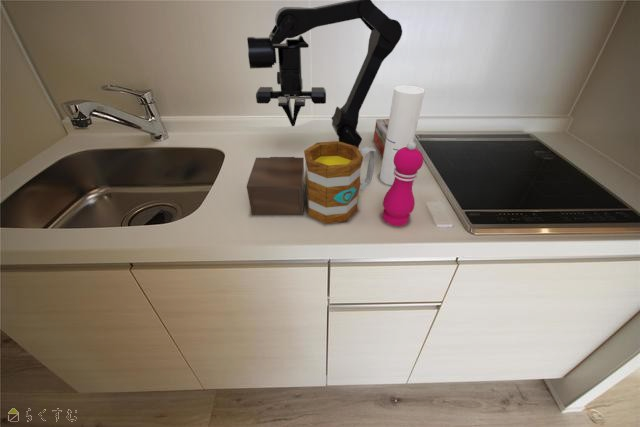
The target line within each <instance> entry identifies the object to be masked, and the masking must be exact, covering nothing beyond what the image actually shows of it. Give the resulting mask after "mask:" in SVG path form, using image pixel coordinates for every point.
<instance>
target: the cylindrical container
mask: <svg viewBox="0 0 640 427" xmlns="http://www.w3.org/2000/svg"><path fill="white" fill-rule="evenodd" d="M425 91H426V90H425V89H424V88H423V87H420V86H417V85H410V84H403V85H396V86H394V88H393V94H392V100H391V104H390V113H389V118H388V119H389V124H388V130H387V136H386V142H385V149H384V155H383V156H382V162H381V168H380V173H379V179H380V181H381V182H382V183H384V184H386V185H390V186H392V185H393V183H394V179H395V176H394V175H393V172H394V168H395V165H394V162H393V161H394V156H395V154H396V152H397V151H398V150H399V149H401V148H404V147H407V144H408V143H409V142H411V141H412V142H415V136H416V132H417V128H418V122H419V119H420V113H421V110H422V105H423V100H424V98H425Z"/></svg>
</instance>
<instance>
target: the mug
mask: <svg viewBox="0 0 640 427" xmlns="http://www.w3.org/2000/svg"><path fill="white" fill-rule="evenodd" d="M303 153H304V161H305V171H304V184H305V194H306V197H305V207H306V213H307V216H308V217H310V218H312V219H315V220H317V221H318V222H321V223H323V224H326V225H327V224H329V225H330V224H336V223H346V222H348V221H349V220H350V219H351V218H352V217H353V216H354V215H355V214H356V213H357V212H358V198H359V197H358V196H359V192H360V191H364V190H366V189H367V188H368V187H369V186H370V185H371V183H372V180H373V177H374V170H375V165H376V161H377V150H376V149H375V148H374V147H370V146H368V145H366V146H364V147H363V148H362V149H358V147H356V146H353V145H349V144H346V143H343V142H339V140H337V141H336V140H335V141H320V142H315V143H314V144H312V145H311V146H309V147H308V148H306V149H304V150H303ZM368 154H369V159H368V164H367V168H366V169H367V170H366V175H365V176H366V177H365V179H364V180H363V182H362V183H361V171H362V165H363V160H364V159H365V157H366V156H367V155H368Z"/></svg>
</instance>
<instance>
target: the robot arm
mask: <svg viewBox="0 0 640 427" xmlns="http://www.w3.org/2000/svg"><path fill="white" fill-rule="evenodd" d="M358 19H360V21H362V22H363V24H364V25H365V26H366V28H367V29H369V30H370V33H369V34H370V35H369V38H368V44H367V45H368V46H367V52H366V56H365V58H364V60H363V63H362V65H361V67H360V69H359V72H358V74H357V76H356V79H355V80H354V83H353V86H352V88H351V90H350V92H349V95H348V96H347V99H346V101H345V103H344V104H343V106H342V107H339V106H336V108H335V110H334V114H333V116H331V120H332V122H331V126H332V128H333V130H334V132H335V134H336V136H337V137H338V141H339V142H343V143H346V144H349V145H353V146H356V147H358V149H359V148H360V145H361V143H362V142H363V138H362V136H361V135H360V133H359V132H358V130H357V127H358V124H359V116H360V110H361V109H362V106H363V104H364V103H365V101H366V98H367V95H368V94H369V91H370V89H371V87H372V85H373V83H374V80H375V79H376V77H377V75H378V72H379V70H380V68H381V66H382V64H383V62H384V61H385V60H386V59H387V57H388V56H390V54H391V53H392V52H393V51H394V49H395V48H396V47H397V45H398V44H399V42H400V40H401V38H402V35H403V29H402V25H401V22H399V20H397V19H393V18H390V17H389V16H388V15H387V14H385V13H384V12H383V11H382V10H381V9H380V8H379V7H377V6H376V4H375V3H374V2H373V1H372V0H346V1H340V2H335V3H331V4H330V3H329V4H324V5H319V6H314V7H302V6H301V7H300V6H283V7H281V8H279V9H278V11H277V12H276V14H275V17H274V23H275V24H274V26H273V28H272V29H271V31H270V32H269V35H268V37H255V36H247V38H246V39H247V49H248V53H247V57H248V64H249V69H251V70H252V69H273V66H275V64H277V56H278V69H279V71H277V72H276V84H277V85H280V90H274V88H273V86H260V87H259V88H258V89H257V91H256V93H255V101H256V103H257V104H269V103H270V102H271V101H272V99H273V100H275V99H276V100H277V101H278V102H277V105H278V106H277V107H279V108H282V109H283V112H284V113H285V115H286V117H287V119H288V121H289V123H290V125H291V126H292V127H295V126H296V122H297V119H298V115H299V114H300V113H299V112H300V111H301V108H303V107H305V106H306V100H311V102H312V103H313V104H314V105H317V104H319V105H320V104H321V105H322V104H323V105H324V104H326V103H327V90H326V88H325V87H323V86H321V87H320V86H319V87H318V86H317V87H315V86H313V87H312V86H311V91H309V90H308V91H307V90H303V87H304V86H303V76H302V49H304V48H305V49H307V48H309V45H310V44H308V43H307V41H305V39H304V37H303V36H302V35H303V34H306V33H307V32H309V31H311V30H314V29H315V28H317V27H323V26H329V25H333V24H338V23H343V22H348V21H353V20H358ZM296 37H298V38H296ZM284 41H285V42H284ZM283 42H284V43H283ZM276 49H277V51H276ZM276 52H277V53H276ZM291 100H294V104H293V111H292V103H291ZM359 150H360V149H359Z"/></svg>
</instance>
